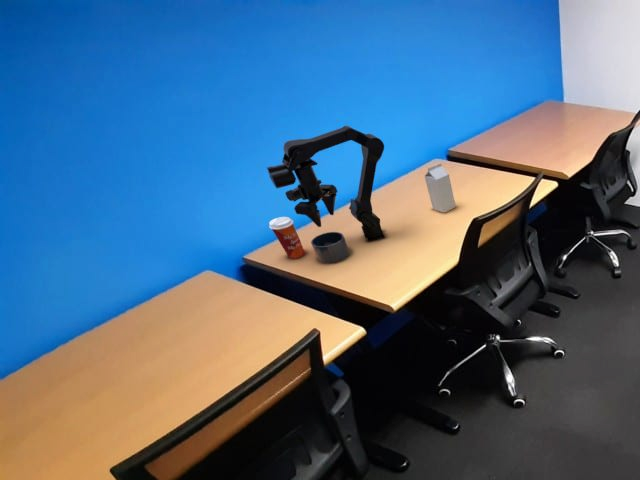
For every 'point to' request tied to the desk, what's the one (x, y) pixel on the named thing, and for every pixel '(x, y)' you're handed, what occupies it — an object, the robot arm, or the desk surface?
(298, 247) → the paper cup
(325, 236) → the dark grey round bowl
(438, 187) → the milk carton
